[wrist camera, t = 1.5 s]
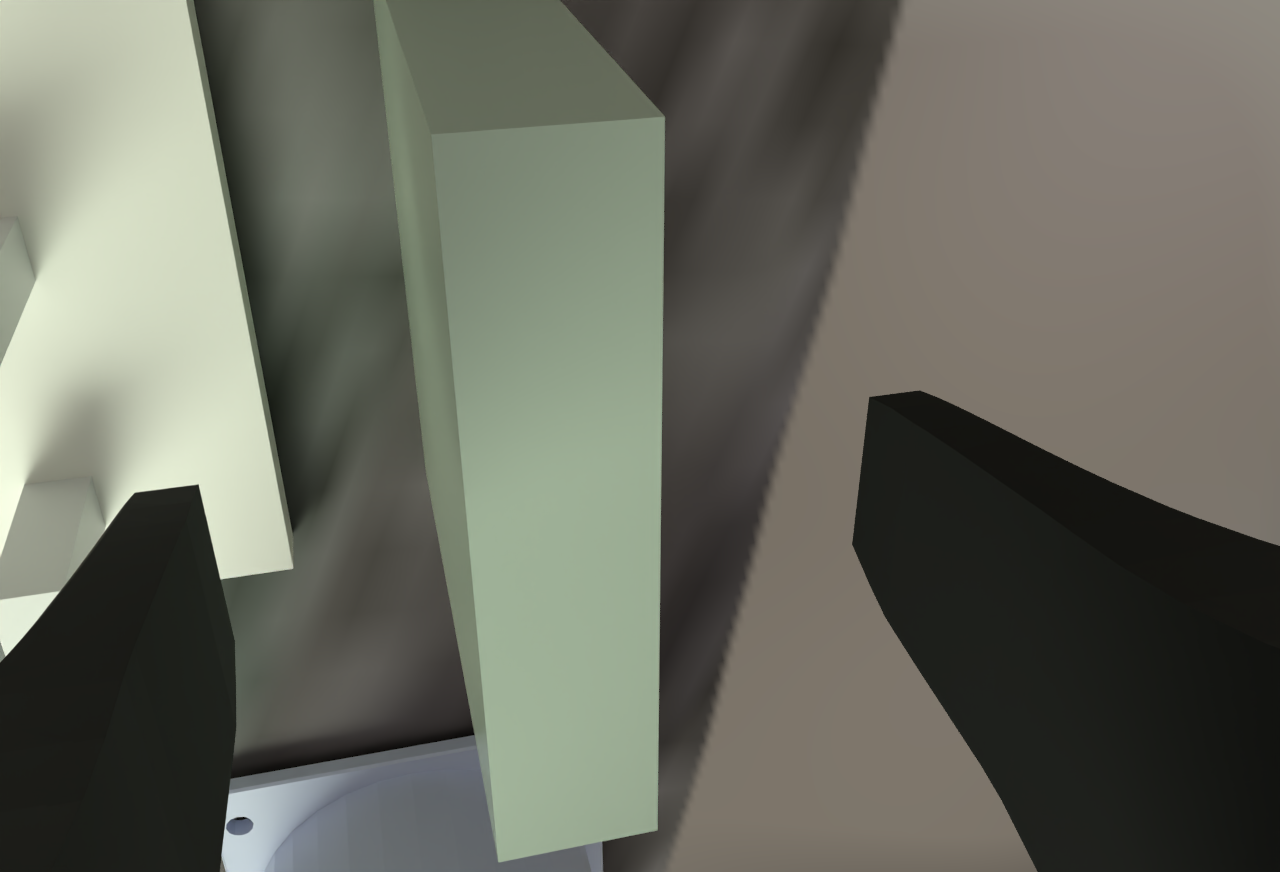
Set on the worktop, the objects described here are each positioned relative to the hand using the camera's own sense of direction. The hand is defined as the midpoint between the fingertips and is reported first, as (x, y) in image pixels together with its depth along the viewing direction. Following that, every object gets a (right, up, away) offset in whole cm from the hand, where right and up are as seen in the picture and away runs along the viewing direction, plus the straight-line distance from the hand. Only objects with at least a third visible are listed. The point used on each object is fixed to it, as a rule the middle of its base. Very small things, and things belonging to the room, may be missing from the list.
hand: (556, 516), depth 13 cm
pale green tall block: (-2, +4, +7) cm, 8 cm away
